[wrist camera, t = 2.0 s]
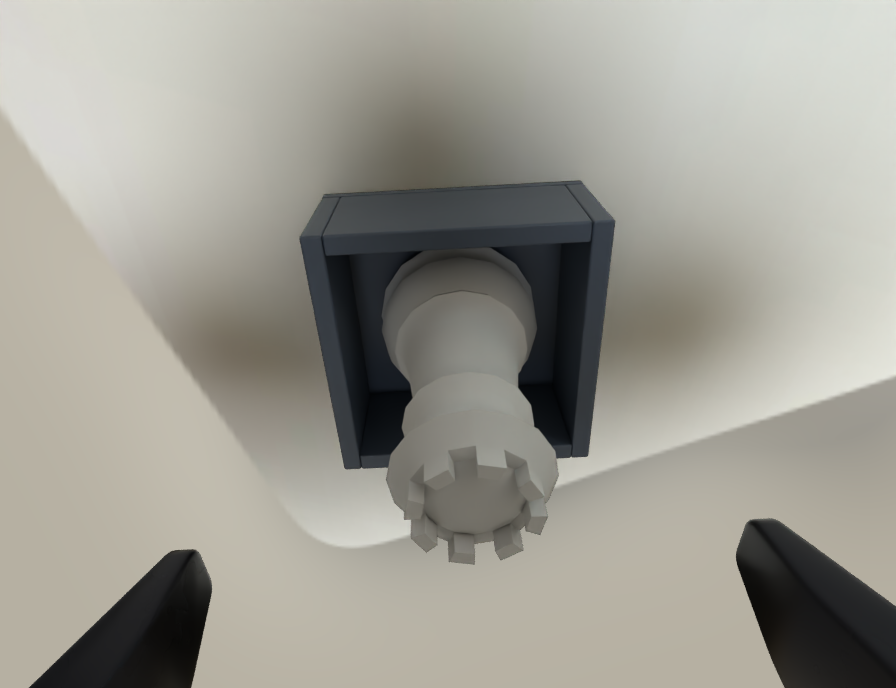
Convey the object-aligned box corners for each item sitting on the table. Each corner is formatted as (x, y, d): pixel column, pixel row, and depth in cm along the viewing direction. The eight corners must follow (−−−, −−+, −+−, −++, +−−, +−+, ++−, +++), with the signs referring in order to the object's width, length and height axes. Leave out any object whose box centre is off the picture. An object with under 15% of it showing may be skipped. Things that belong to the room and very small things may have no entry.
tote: (357, 400, 19) (344, 470, 16) (323, 194, 15) (298, 237, 12) (564, 389, 19) (588, 457, 16) (581, 180, 15) (616, 219, 12)
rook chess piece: (551, 340, 17) (630, 558, 10) (420, 387, 18) (413, 618, 11) (502, 211, 15) (561, 379, 8) (356, 271, 16) (298, 470, 9)
